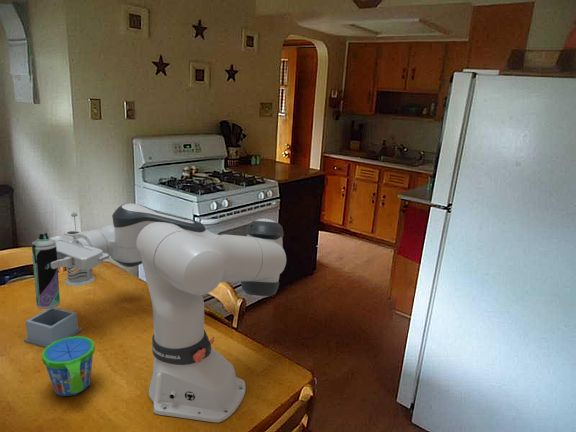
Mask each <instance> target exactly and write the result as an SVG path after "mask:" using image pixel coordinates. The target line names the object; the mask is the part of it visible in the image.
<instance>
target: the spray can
mask: <svg viewBox="0 0 576 432" xmlns="http://www.w3.org/2000/svg"><path fill="white" fill-rule="evenodd" d="M50 238H51V237H50V236H49V235H48V232H44V233H39V235H38V238H37V239H36V240H35V241H32V243H31V244H32V245H31V253H32V256H33V261H32V265H33V266H32V267H33V276H34V277H33V278H34V288H35V289H34V291H35V302H36V308H38V309H40V310H47V309H50V308H54V307H56V308H57V307H58V306H60V304H61V299H60V298H61V297H60V284H59V283H60V282H59V281H60V280H59V267H58V268H55V269H52V268H50V267H49V262H50V261H52V260H57V248H56V241H55V240H52V239H50Z"/></svg>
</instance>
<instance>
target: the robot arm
mask: <svg viewBox="0 0 576 432" xmlns="http://www.w3.org/2000/svg"><path fill="white" fill-rule="evenodd" d="M111 218H112V224H107V225H105V226H103V227H101V228H97V229H91V230H84V231H75V230H73V231H72V230H68V231H65V232H64V233H63V234H60V235H55V236H51V237H50V239H52V240H55V241H56V248H57V260H52V261H50V262H49V267H50V268H52V269H55V268H58V269H59V268H65V267H66V268H67V267H68V266H71V267H74V268H73V269H76V268H77V269H78V270H89V269H91V268H92V269H94V268H95V267H97V266H99V265H101V264H103V263H104V260H106V259H109V258H110V257H111V259H112V261H115V262H116V263H118V264H119V265H120V266H123V267H127V268H132V267H133V268H134V267H137V266H140V265H142V267H143V270H144V276H145V280H146V286H147V287H148V292H149V295H150V296H149V297H150V302H151V306H152V320H153V321H152V322H153V335H152V336H151V338H152V339H151V341H152V342H151V344H152V345H151V346H152V347H151V348H152V351H151V352H152V354H153V367H152V376H151V379H150V384H149V387H148V395H149V398H150V400H151V401H152V403H153V413H155V414H156V415H158V416H159V415H161V416H168V417H176V418H181V419H189V420H196V421H203V422H210V423H218V424H219V423H222V422H224V421H225V420H227V419H228V418H230V417H231V416H232V415H233V414H234V413H235V412H236V410H238V408H239V406H240V405H241V403H242V401H243V400H244V397H245V395H246V382H245V380H244V379H242V378H240V377H238V376H236V375H237V374H236V370H235V367H234V365H233V363H231V362H230V361H229V360H227V359H226V357H224V355H223V354H222V353H219V352H218V351H217V350H216V349H214V347H213V346H212V345H213V344H214V343H215V336H212V338H211V339H209V336H208V334H207V331H206V330H205V301H204V298H203V295H204V296H205V295H207V294H209V293H212V292H213V291H214V290H215V289H216V288H217V287H218V286H219V284H221V283H227V282H230V283H231V282H232V283H233V282H240V285H241V288H242V290H243V291H244V293H245V294H247V295H249V296H251V297H254V298H258V299H263V298H267V297H272V296H274V295H275V294H276V293H277V291H278V289H279V286H280V282H279V280H280V274H282V273H283V272H284V270H285V267H286V265H287V255H286V252H285V249H284V246H283V242H284V241H283V237H284V230H283V229H284V228H283V226H282V225H281V224H280V223H279V222H277V221H275V220H273V219H270V218H259V219H256V220H252V221H251V222H250V223H249V224H248V226H247V227H246V228H247V229H246V232H245V234H246V235H235V234H234V235H233V234H216V233H213V232H211V231H210V230H208V229H207V228H206V227H205V225H204V223H202V222H200V221H197V220H194V219H191V218H188V217H184V216H180V215H176V214H172V213H168V212H164V211H160V210H155V209H152V208H150V207H148V206H144V205H142V204H138V203H130V202H129V203H124V204H121V205H120V206H118V207H117V208H116V209H115V210H114V212H113V213H112V217H111ZM31 261H32V262H33V255H32V256H31Z"/></svg>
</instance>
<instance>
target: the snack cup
mask: <svg viewBox="0 0 576 432" xmlns="http://www.w3.org/2000/svg"><path fill="white" fill-rule="evenodd" d="M95 347H96V346H95V343H94V341H93V340H92V339H91V338H89V337H86V336H77V335H76V336H74V337H67V338H64V339H60V340H58V341H55V342H53V343H52V344H50V345H49V346H47V347H46V348H44V349H43V350H42V352H41V361H42V363H43V364H44V365H45V368H46V371H47V374H48V377H49V380H50V381H51V382H50V383H51V385H52V387H53V391H54V392H55V393H56V394H57V395H58V396H63V397H67V396H69V397H70V396H76V395H78V394H79V393H82V392H83V391H84V390H86V389H87V388H88V387H89V386H90V384H91V379H92V368H93V360H94V359H93V358H94V357H93V356H94V354H95Z"/></svg>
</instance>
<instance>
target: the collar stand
mask: <svg viewBox="0 0 576 432" xmlns="http://www.w3.org/2000/svg"><path fill="white" fill-rule="evenodd" d="M77 314H78V313H77V312H76V311H75V312H74V311H71V310H68V309H67V310H66V309H63V308H60V307H59V308H58V307H57V306H56V307H54V308H50V309H44V310H43V311H42V312H40V313H38V314H37V315H34V316H33V317H31V318H29V319H27V320H26V321H25V327H26V333H27V337H25V338H24V339H23V342H24V343H27V344H31V345H34V346H36V347H37V346H38V347H42V348H44V349H45V348H46V347H47V346H49V345H50V344H52V343H53V342H55V341H58V340H60V339H64V338H67V337H75V336H77V335H79V334H80V333H82V332H83V328H79V324H78V323H79V322H78V315H77Z"/></svg>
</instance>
